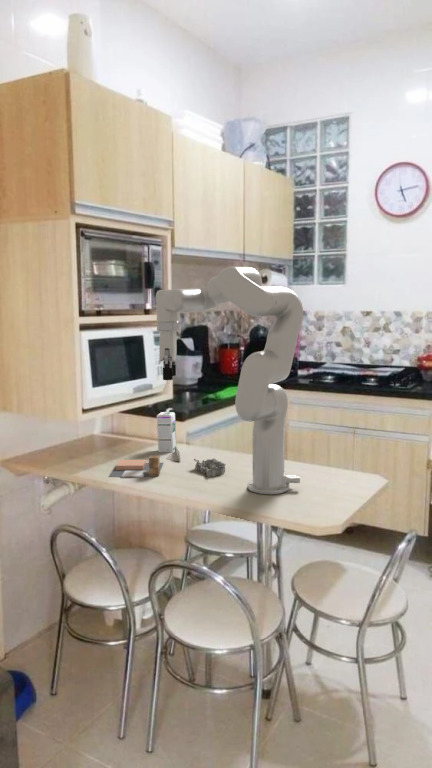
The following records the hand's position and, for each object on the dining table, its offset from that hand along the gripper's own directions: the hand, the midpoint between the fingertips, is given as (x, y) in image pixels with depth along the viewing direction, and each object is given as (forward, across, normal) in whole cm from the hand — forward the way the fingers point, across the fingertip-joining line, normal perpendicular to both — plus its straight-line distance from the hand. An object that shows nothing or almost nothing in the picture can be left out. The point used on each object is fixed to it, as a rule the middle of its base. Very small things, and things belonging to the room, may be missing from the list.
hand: (169, 377), depth 200 cm
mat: (+30, +7, -11) cm, 33 cm away
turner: (+30, +13, -9) cm, 34 cm away
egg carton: (+31, +8, +14) cm, 35 cm away
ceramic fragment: (+31, -8, +1) cm, 32 cm away
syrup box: (+31, -18, -4) cm, 35 cm away
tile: (+29, +4, -9) cm, 31 cm away
